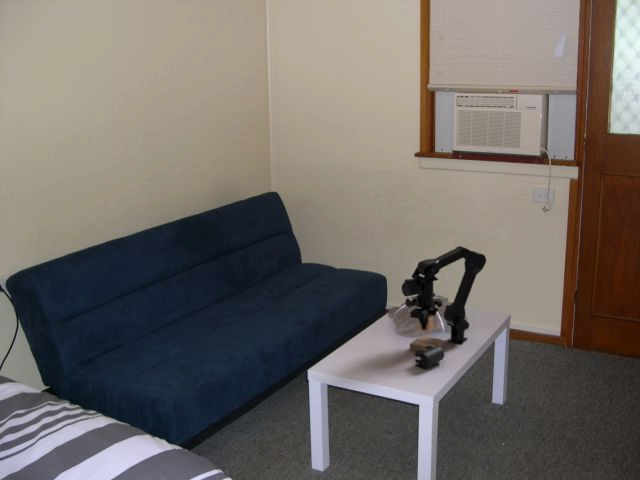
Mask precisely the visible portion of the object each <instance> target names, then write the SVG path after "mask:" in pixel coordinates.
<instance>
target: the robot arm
mask: <svg viewBox="0 0 640 480" xmlns="http://www.w3.org/2000/svg"><path fill="white" fill-rule="evenodd" d="M462 259H464V264H463V265H464V273H463V276H462V278H461V282H460V283H459V287H458V289H457V292H456V294H455V297H454V300H453V302H452V303H451V304H446V306H445V310H444V312H443V319H444V321H445V322H446V325H447V326H450V338H449V339H447V342H448V343H455V344H459V345H463V344H464V343H465V342H466V341H467V340H468V338H467V337H465V331H466V330H468V329H469V327H470V323H469V322H468V321H467V320H465V317H466V304H467V301H468V299H469V296H470V294H471V291H472V288H473V285H474V282H475V280H476V277H477V275H478V274H479V273H480V272H481V271H483V269H484V267H485V265H486V263H487V258H486V256H485V254H483V253H480V252H478V251H474V250H470V249H468V248H467V247H465V246H462V245H460V246H457V247H456V248H454V249H452V250H449V251H448V252H445V253H443V254H441V255H439V256H437V257H435V258H428V259H424V260H421V261H418V264H417V265H416V268H415V269H414V272H413V273H412V275H411V278H407V279H406V278H405V279H404V282H403V283H402V284H401V292H402V295H404V297H407V298H406V299H405V302H404V305H405V306H406V307H407V308H409V309H410V308H411V307H415V308H413V309H412V310H411V311H410V312H409V317H410V318H414V319H418V322H419V321H420V323H421V326H422V329H423V330H425V329H426V327H427V323H428V320H429V317H430V315H433V316H434V318H435V317H436V316H437V315H436V314H437V313H438V311H439V308H441V307H442V306H443V301H442V299H440V298H435V297H436V292H435V293H434V282H436V281H439V278H438V277H436V275H437V274H439V272H440V271H441V270H442V269H443V268H445V267H447V266H449V265H451V264H453V263H456V262H457V261H459V260H462ZM410 296H411V297H410ZM408 297H409V298H408ZM436 306H437V307H436Z"/></svg>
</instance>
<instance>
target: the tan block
mask: <svg viewBox="0 0 640 480" xmlns="http://www.w3.org/2000/svg"><path fill="white" fill-rule="evenodd" d="M426 346H432V347H437V346H439V347H441V348H442V347H443V339H439V338H435V337H430V336H423V335H419V336H417V338H416V339H414V340H413V341H411V342H410V343H409V351H410V352H414V353H415V352H416V351H417V350H424V351H427V350H428V349H425V347H426Z"/></svg>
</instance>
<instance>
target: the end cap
mask: <svg viewBox="0 0 640 480" xmlns="http://www.w3.org/2000/svg"><path fill="white" fill-rule="evenodd" d="M425 349H428V350H427V351H424V350H417V351H416V352H415V351H414V356H415V357H417V358H415V359H414V363H416V364H415V367H416V368H420V369H423V370H425V369H428V368H429V367H432V366H433V365H435V364H437V363H439V362H441V361H443V359H444V358H445V351H444V349H443V348H442V347H439V346H437V347H432V346H426V347H425ZM418 358H420V359H418Z"/></svg>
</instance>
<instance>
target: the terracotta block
mask: <svg viewBox="0 0 640 480" xmlns="http://www.w3.org/2000/svg"><path fill="white" fill-rule="evenodd" d="M434 323H435V317H434V316H433V315H430V317H429V320H428V323H427V327H426V329H425V330H423V329H422V326H421V323H420V321H419V320H418V331H419V332H423V333H427V334H429V333H431V332H432V331H433V330H434V329H435V327H434V326H435V324H434Z"/></svg>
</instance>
